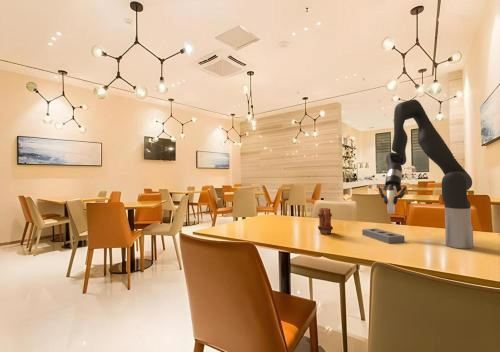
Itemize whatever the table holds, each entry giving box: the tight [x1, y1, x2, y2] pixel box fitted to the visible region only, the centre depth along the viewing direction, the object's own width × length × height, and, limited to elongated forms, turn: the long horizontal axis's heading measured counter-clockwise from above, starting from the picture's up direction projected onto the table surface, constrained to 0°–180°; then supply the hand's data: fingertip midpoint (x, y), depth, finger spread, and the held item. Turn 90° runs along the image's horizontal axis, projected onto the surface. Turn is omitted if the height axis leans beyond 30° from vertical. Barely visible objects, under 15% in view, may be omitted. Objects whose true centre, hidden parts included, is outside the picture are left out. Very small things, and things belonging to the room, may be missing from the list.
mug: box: [317, 207, 334, 235], centre depth 152 cm, size 15×8×15 cm, turn 172°
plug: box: [386, 185, 396, 215], centre depth 141 cm, size 3×3×15 cm
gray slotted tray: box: [361, 227, 406, 244], centre depth 140 cm, size 9×20×3 cm, turn 13°
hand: (390, 203), depth 139 cm, fingers closed on plug, 3 cm apart
